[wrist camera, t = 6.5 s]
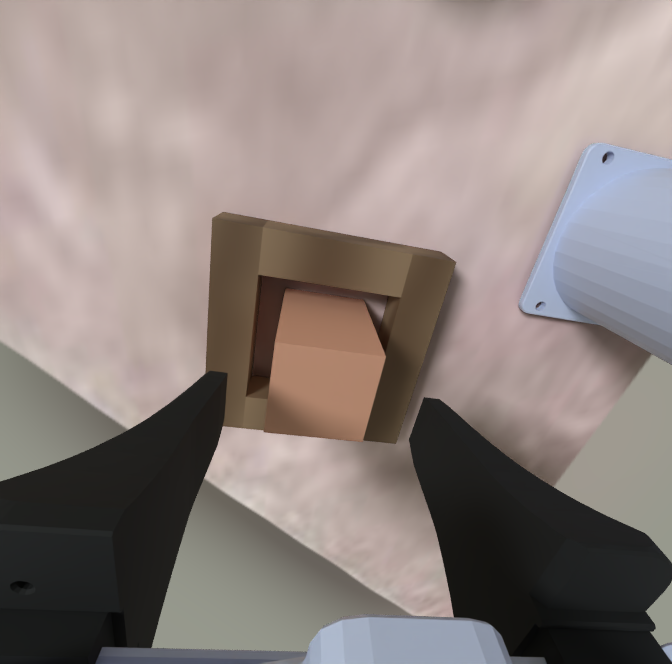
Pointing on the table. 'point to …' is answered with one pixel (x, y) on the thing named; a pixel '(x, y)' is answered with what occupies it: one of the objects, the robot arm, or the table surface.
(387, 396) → the walnut collar
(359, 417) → the terracotta block
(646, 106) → the table surface
